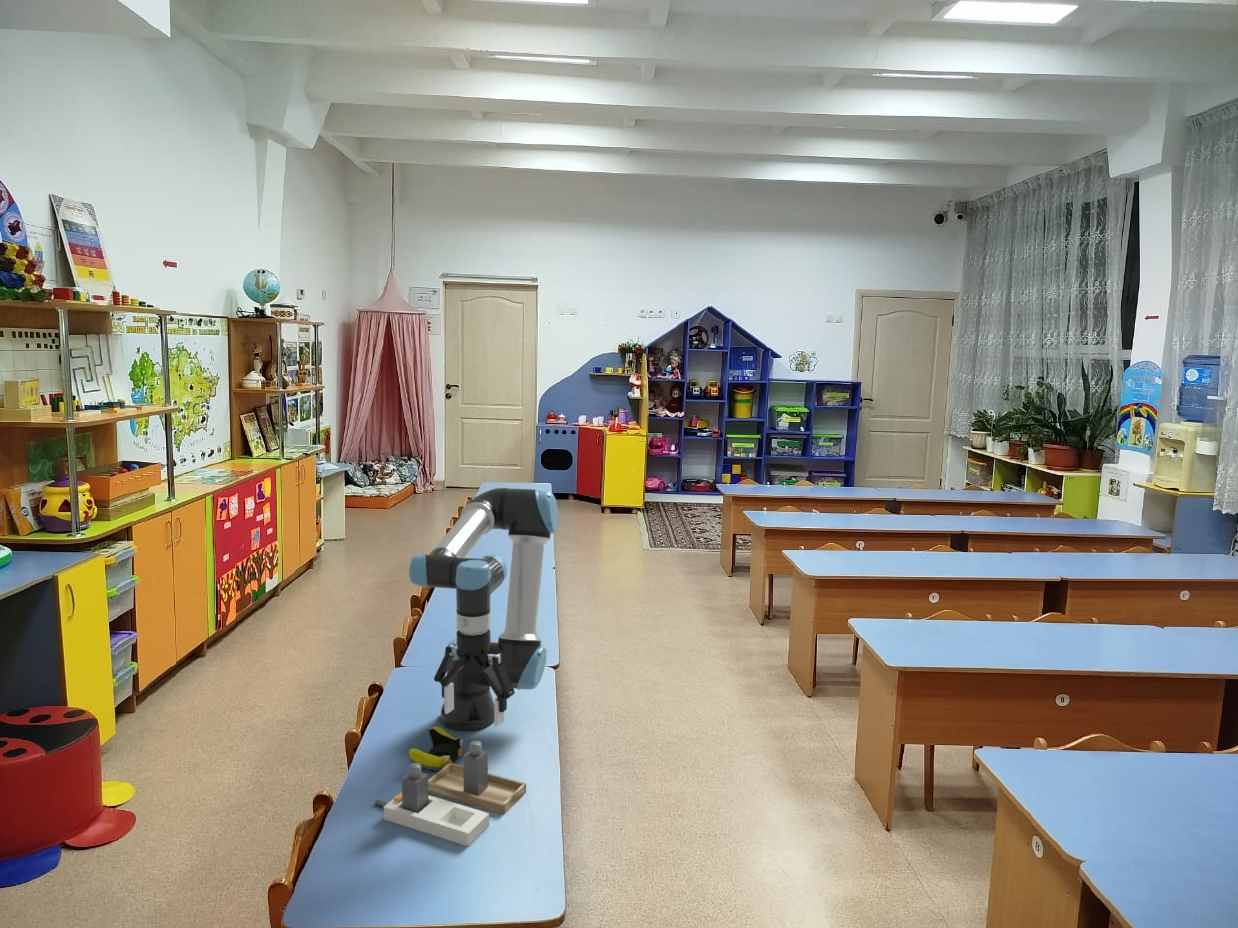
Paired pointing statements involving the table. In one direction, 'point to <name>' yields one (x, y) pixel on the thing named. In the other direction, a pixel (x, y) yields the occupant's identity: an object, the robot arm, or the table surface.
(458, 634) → the robot arm
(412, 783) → the twin plug
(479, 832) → the strip
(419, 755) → the gaming controller
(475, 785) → the plug
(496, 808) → the tray
